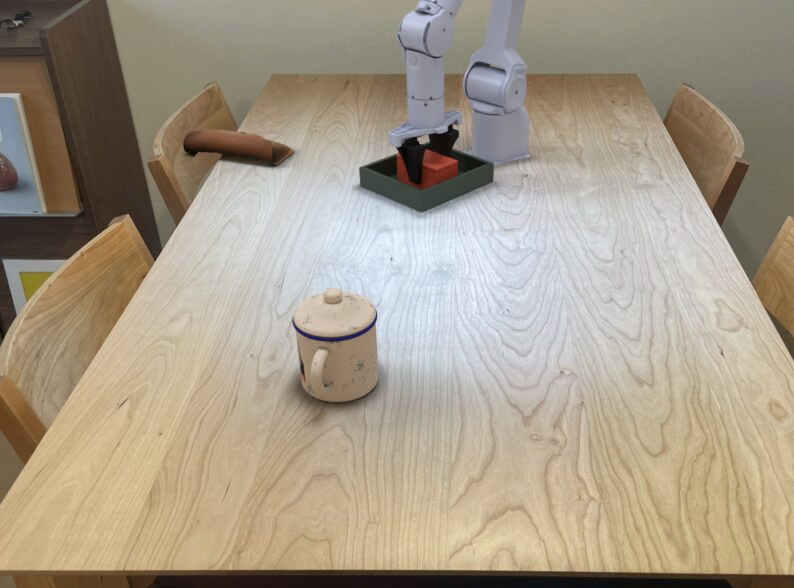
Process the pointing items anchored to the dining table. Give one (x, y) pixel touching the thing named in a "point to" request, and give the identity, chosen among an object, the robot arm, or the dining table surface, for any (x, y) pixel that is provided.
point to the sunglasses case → (236, 145)
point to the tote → (469, 178)
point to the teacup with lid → (337, 345)
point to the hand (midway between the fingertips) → (427, 177)
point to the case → (429, 170)
